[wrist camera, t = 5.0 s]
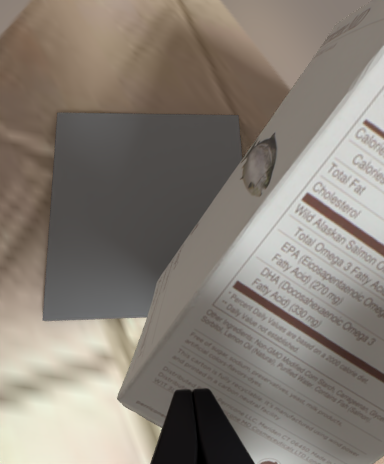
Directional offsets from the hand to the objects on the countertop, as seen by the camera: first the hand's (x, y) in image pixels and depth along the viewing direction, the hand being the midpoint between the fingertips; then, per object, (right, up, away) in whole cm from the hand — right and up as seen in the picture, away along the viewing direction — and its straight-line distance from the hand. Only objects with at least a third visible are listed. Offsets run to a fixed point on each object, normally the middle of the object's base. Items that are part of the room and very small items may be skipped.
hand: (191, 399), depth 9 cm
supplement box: (+1, -2, +5) cm, 5 cm away
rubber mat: (-2, +5, +11) cm, 12 cm away
